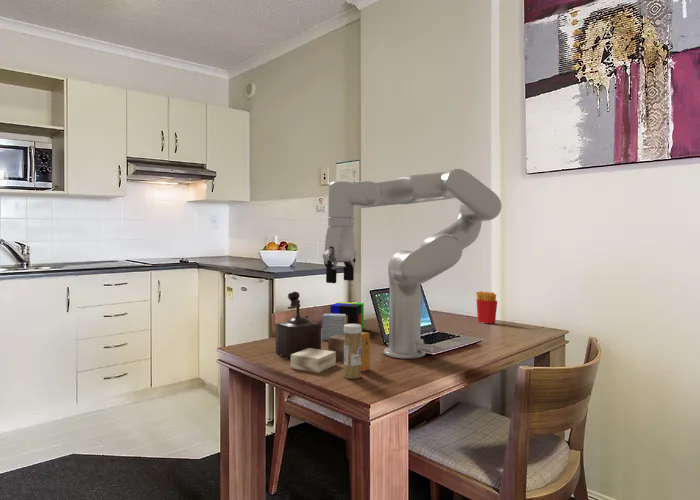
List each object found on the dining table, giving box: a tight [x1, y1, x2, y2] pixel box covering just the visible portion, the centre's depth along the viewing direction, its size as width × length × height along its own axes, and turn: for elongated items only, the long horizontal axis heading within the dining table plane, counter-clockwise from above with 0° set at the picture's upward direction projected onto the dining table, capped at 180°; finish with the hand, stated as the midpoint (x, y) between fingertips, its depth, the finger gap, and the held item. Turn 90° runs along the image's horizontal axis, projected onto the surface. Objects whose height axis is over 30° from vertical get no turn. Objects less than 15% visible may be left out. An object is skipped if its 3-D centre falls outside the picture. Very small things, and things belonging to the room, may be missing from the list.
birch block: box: [290, 348, 337, 373], centre depth 135 cm, size 9×9×4 cm
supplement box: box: [360, 331, 371, 373], centre depth 132 cm, size 3×3×10 cm
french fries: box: [475, 290, 498, 324], centre depth 203 cm, size 9×4×13 cm, turn 41°
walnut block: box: [327, 335, 344, 361], centre depth 145 cm, size 5×5×6 cm
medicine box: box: [321, 313, 346, 341], centre depth 169 cm, size 8×4×9 cm, turn 84°
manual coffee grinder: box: [274, 291, 322, 359], centre depth 151 cm, size 16×11×18 cm
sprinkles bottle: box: [343, 324, 363, 380], centre depth 125 cm, size 5×5×13 cm
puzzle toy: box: [330, 301, 365, 330], centre depth 185 cm, size 10×10×10 cm
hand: (340, 281), depth 145 cm, fingers open, 9 cm apart
